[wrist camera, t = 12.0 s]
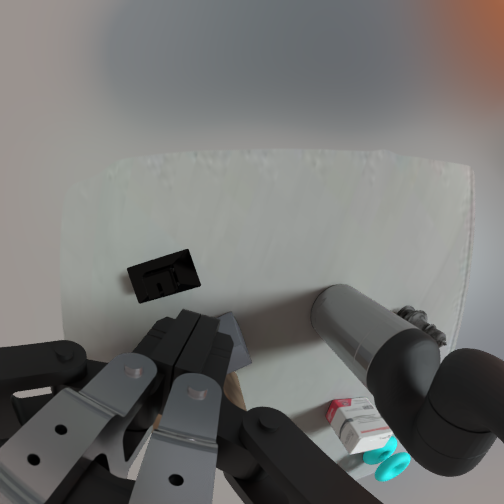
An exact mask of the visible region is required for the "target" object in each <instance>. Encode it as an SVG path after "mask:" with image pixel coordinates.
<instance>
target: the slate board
mask: <svg viewBox="0 0 504 504" xmlns="http://www.w3.org/2000/svg"><path fill="white" fill-rule="evenodd" d="M217 319H220V326H219V330H218V332H221V333H224V334H228V335H231V338H232V340H233V342H234V346H233V350H232V354H231V358H230V362H229V366H228V370H227V374H229V373H231V372H234V371H236V370H238V369H240V368H242V367H245V366H247V365H249V364H251V363H252V361H251V359H250V356H249V353H248V350H247V347H246V344H245V341H244V338H243V336H242V333H241V330H240V327H239V325H238V323H237V322H236V320H235V318H234V316H233V314H232V312H229V313H227V314H224V315H222V316H220V317H218V318H217ZM227 374H226V375H227Z"/></svg>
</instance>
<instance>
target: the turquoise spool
mask: <svg viewBox="0 0 504 504" xmlns="http://www.w3.org/2000/svg"><path fill="white" fill-rule="evenodd" d="M396 447H397V440H396V438H395V437H393V436H391V437H390V439H389V440H388V441H387V443H386V444H385V446H384V447H382V448H378V449H374V450H369V451H365V452H364V454H363V460H364V462H365V463H367V464H370V465H373V464H378V463H380V462H382V461H383V462H382V463H381V464H380V465H379V467H378V468H377V470H376V472H375V478H376V480H378V481H387V480H390V479H392V478H394V477H396V476H397V475H398V474H400V473H401V472H402V471H403V470H404V469H405V468H406V467H407V466H408V465H409V462H410V459H411V458H410V455H409V454H408V453H405V452H401V453H397V454H394V455H392V453H393V452H394V451H395V449H396ZM391 455H392V456H391ZM388 457H389V458H388ZM384 460H385V461H384Z"/></svg>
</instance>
